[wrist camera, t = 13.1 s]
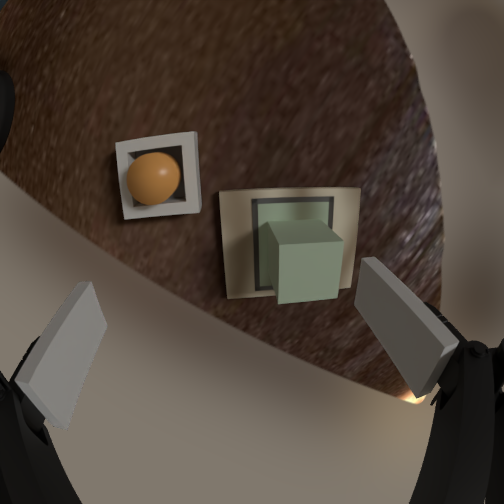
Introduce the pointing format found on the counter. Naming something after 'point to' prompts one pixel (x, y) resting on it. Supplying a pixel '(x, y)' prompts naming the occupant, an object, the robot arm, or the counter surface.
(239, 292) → the beige flat rectangular board
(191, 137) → the button housing
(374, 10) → the counter surface
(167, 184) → the button
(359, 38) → the counter surface
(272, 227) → the sage block
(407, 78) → the counter surface
